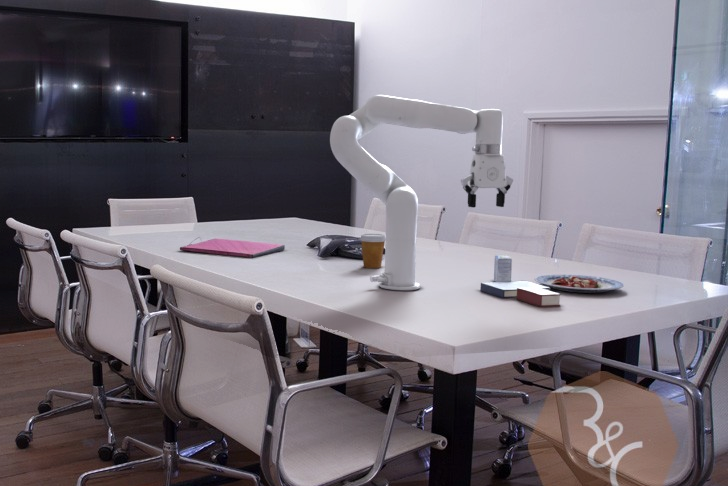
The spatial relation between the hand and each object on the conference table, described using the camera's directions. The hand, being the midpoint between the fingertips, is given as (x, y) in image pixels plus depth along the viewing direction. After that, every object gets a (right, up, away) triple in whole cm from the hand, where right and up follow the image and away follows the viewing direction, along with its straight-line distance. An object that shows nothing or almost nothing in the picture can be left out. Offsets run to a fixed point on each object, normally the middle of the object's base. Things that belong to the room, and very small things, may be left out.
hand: (485, 206), depth 234 cm
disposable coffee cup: (-25, -21, +50) cm, 60 cm away
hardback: (+9, -27, 0) cm, 28 cm away
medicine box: (+12, -25, +18) cm, 33 cm away
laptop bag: (-78, -15, +93) cm, 123 cm away
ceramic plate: (+32, -26, +9) cm, 42 cm away
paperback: (+10, -28, -14) cm, 33 cm away
